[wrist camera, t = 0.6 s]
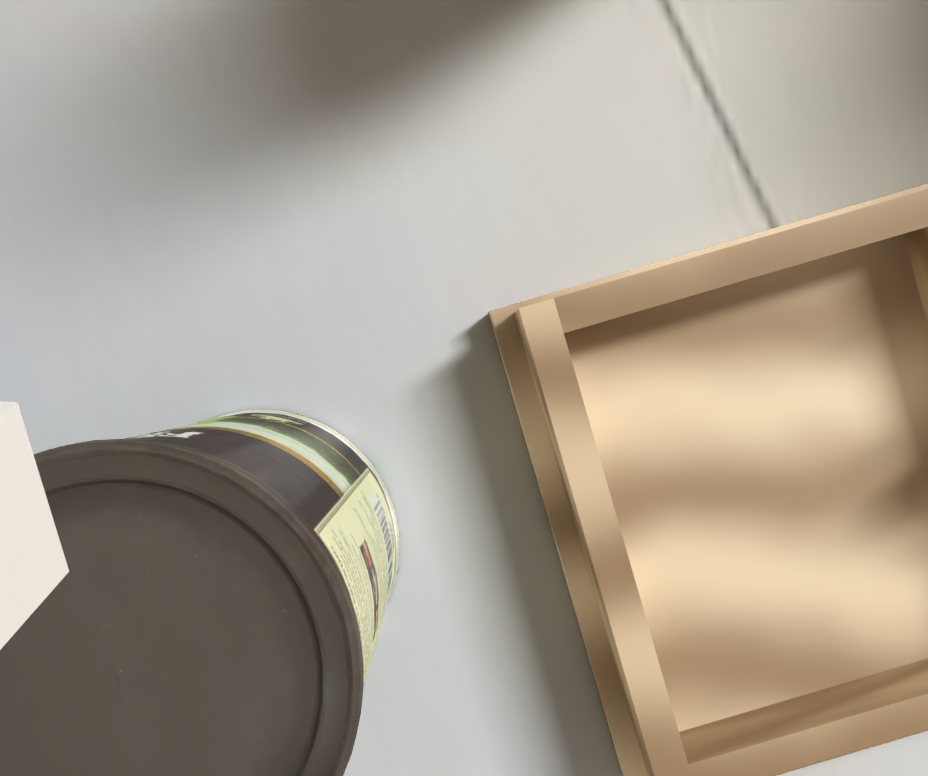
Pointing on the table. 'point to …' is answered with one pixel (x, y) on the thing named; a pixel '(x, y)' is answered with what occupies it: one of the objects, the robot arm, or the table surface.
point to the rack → (743, 488)
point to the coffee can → (203, 604)
